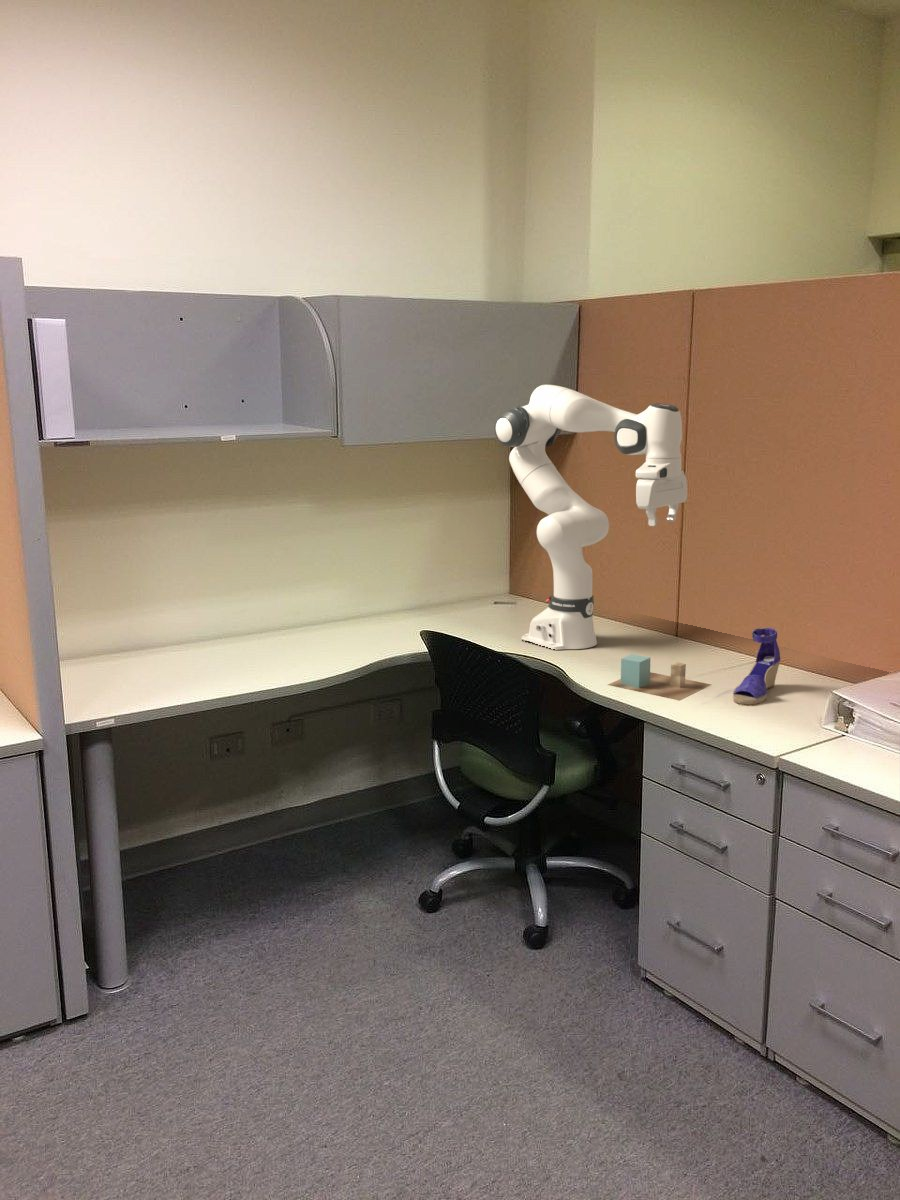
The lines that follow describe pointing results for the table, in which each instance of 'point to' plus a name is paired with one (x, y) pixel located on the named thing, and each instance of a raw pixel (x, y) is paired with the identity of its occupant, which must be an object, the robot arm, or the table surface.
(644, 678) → the teal rectangular block
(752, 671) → the sandal
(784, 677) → the table surface
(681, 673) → the post
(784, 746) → the table surface
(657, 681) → the board
